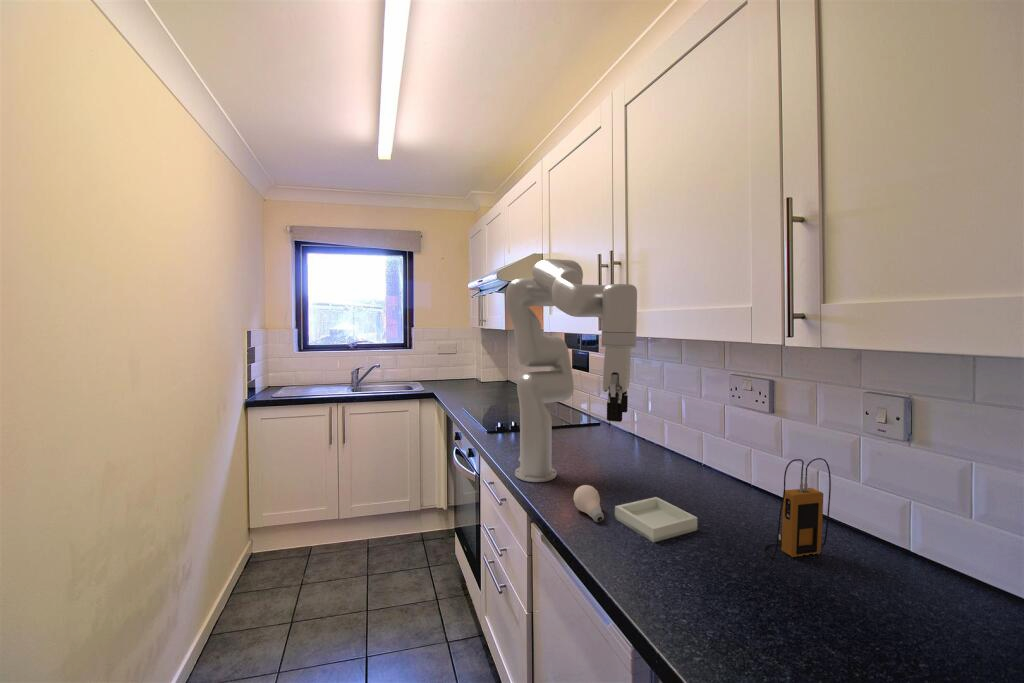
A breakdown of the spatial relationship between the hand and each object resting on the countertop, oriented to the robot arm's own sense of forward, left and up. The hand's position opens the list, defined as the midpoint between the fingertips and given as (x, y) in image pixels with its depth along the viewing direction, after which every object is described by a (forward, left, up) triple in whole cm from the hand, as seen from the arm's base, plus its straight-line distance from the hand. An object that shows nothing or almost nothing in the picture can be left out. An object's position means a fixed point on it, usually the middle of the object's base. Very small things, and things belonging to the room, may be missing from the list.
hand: (617, 416), depth 103 cm
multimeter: (+21, +28, -26) cm, 44 cm away
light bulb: (-9, -1, -26) cm, 28 cm away
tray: (+2, +10, -26) cm, 28 cm away
